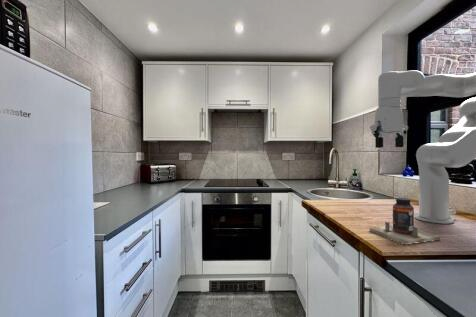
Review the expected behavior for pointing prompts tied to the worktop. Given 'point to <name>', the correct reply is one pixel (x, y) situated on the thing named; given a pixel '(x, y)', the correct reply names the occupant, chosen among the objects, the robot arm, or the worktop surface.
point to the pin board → (403, 234)
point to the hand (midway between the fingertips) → (389, 147)
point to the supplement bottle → (403, 216)
